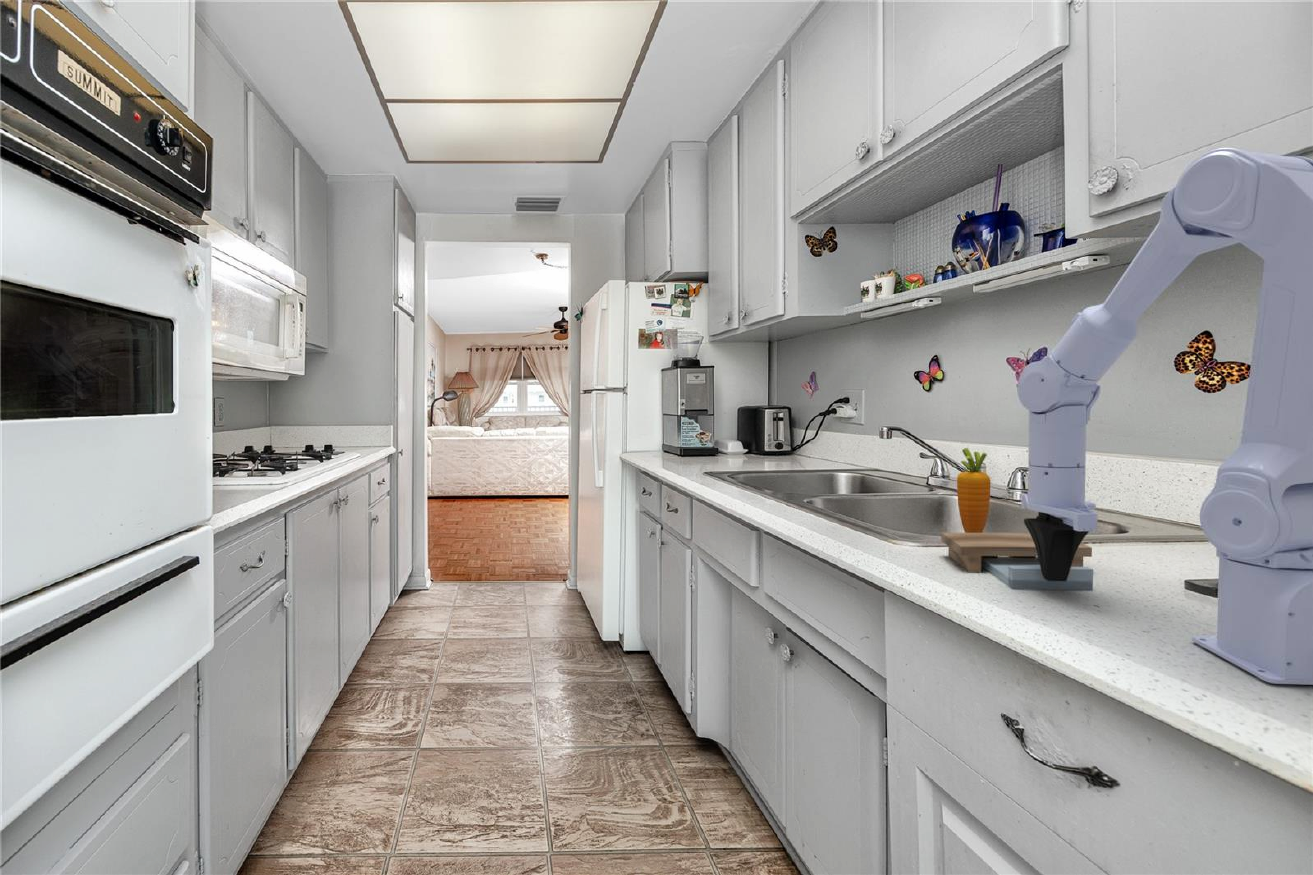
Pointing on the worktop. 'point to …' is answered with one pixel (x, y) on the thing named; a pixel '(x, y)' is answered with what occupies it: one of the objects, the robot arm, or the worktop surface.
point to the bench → (997, 548)
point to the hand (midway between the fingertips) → (1054, 579)
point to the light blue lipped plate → (1035, 574)
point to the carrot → (973, 494)
